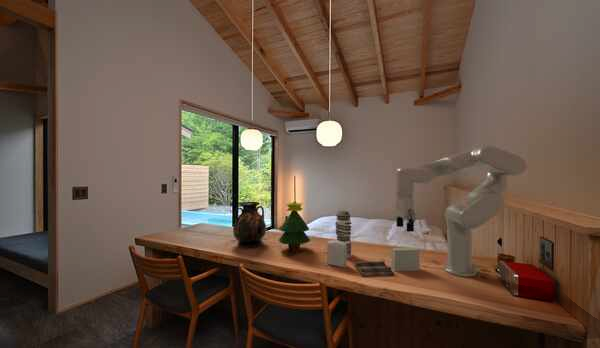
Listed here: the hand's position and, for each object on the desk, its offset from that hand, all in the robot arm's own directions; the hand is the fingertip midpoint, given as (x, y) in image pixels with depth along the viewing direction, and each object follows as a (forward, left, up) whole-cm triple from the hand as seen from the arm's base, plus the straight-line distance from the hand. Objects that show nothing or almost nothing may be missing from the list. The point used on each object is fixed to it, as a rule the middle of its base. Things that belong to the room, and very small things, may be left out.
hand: (404, 228), depth 112 cm
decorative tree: (+53, -33, -20) cm, 65 cm away
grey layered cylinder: (+25, -22, -20) cm, 39 cm away
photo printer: (+32, -8, -20) cm, 38 cm away
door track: (+16, 0, -20) cm, 25 cm away
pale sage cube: (0, 0, -20) cm, 20 cm away
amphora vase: (+82, -45, -20) cm, 95 cm away
